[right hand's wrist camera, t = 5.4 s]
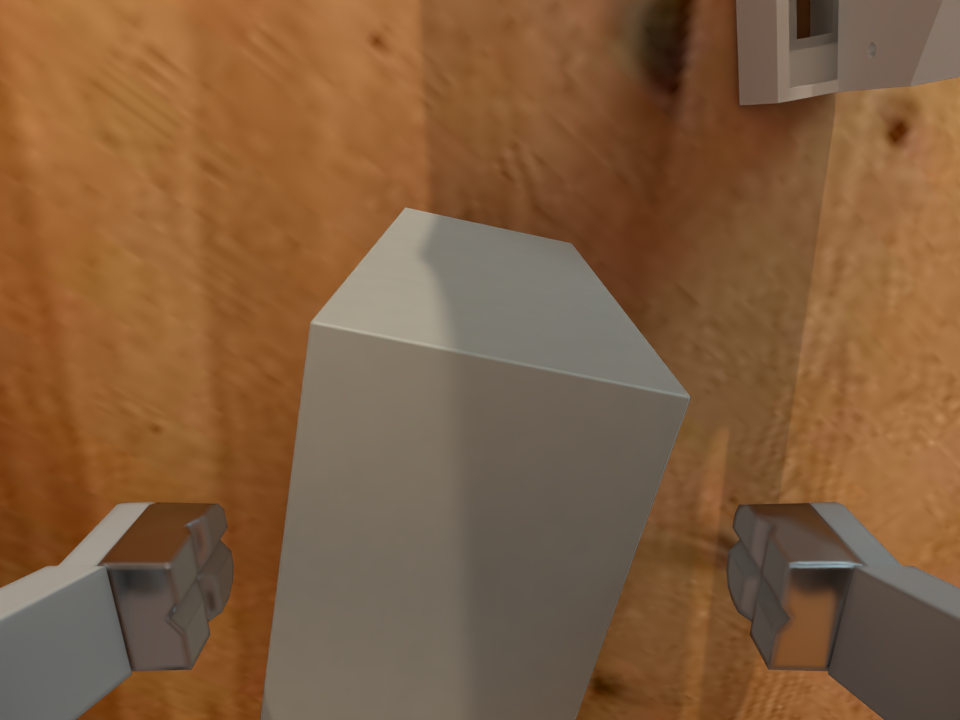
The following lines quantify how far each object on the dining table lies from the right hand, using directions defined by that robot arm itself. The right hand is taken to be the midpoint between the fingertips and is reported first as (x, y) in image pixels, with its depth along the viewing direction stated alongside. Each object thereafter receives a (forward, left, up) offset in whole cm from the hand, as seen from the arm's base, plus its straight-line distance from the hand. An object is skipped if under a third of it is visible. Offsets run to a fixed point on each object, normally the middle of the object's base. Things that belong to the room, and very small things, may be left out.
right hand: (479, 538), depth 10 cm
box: (+6, +5, -13) cm, 15 cm away
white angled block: (-14, -3, -16) cm, 22 cm away
